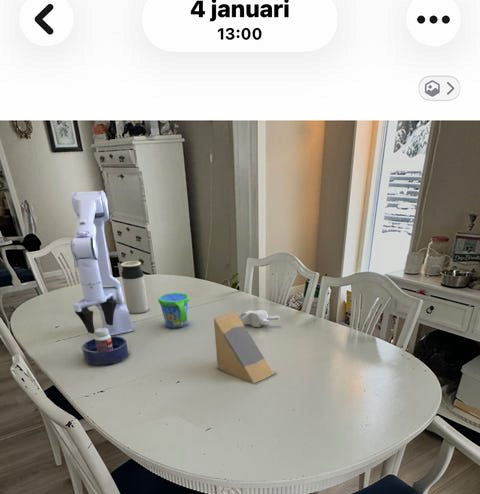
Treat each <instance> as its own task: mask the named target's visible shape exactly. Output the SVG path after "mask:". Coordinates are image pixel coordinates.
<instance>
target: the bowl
mask: <svg viewBox="0 0 480 494" xmlns="http://www.w3.org/2000/svg"><path fill="white" fill-rule="evenodd" d="M111 341H112V346H113V350H109V351H101V352H98V351H97V346H96V342H95V337H94V338H92V339H88V340H86V341H85V342H83V344H82V345H81V351H82V355H83V360H84V361H85V362H86V363H87V364H90V365H91V364H92V365H97V366H98V365H99V366H101V365H102V366H104V365H111V364H115V363H118V362H121V361H123V360H124V359H126V358H127V357H128V356H129V349H128V342H127V340H126V338H124V337H121V336H117V335H112V336H111Z"/></svg>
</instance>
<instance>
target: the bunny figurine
mask: <svg viewBox="0 0 480 494" xmlns="http://www.w3.org/2000/svg"><path fill="white" fill-rule="evenodd" d="M238 316H239V317H240V319H241V321H242V323H243V324H244V325H250V326H252V327H255V328H261V326H267V325H269V324H270V321H271V320H273V321H279V320H281V317H280V316H279V315H269V314H268V312H267V310H264V309H258V310H253V309H250V310H247V311H244V312H242V313H240V314H238Z"/></svg>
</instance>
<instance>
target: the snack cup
mask: <svg viewBox="0 0 480 494" xmlns="http://www.w3.org/2000/svg"><path fill="white" fill-rule="evenodd" d="M189 302H190V296H189V295H188V294H186V293H184V292H183V293H182V292H172V293H171V292H170V293H166V294H165V293H164V294H163V295H160V296H159V297H158V303H159V305H160V308H161V311H162V315H163V319H164V322H165V325H166V326H167V327H169V328H170V329H179V328H180V329H181V328H183V327H185V326H186V325H188V313H189V312H188V310H189Z"/></svg>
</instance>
